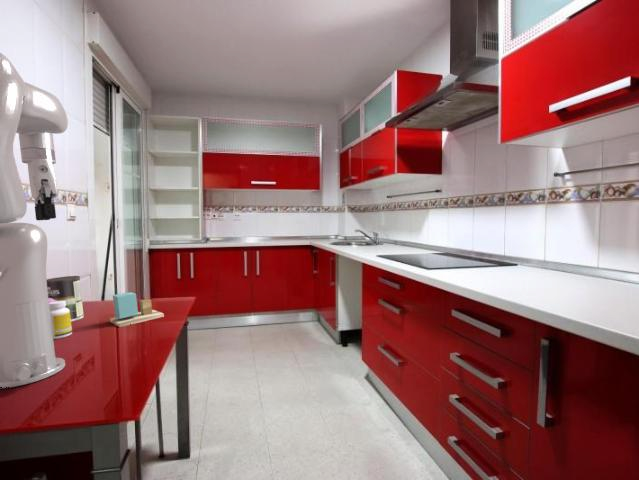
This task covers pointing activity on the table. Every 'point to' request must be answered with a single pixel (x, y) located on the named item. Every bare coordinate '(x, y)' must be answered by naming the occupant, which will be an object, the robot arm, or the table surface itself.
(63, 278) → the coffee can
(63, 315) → the supplement bottle
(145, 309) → the post stand
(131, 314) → the pale teal cube
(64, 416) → the table surface
